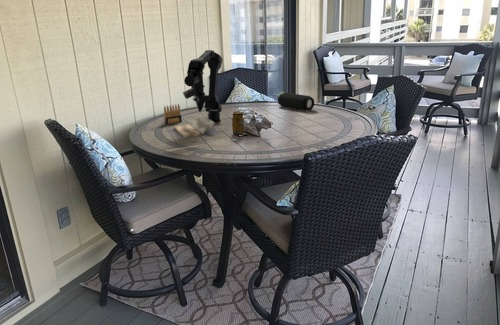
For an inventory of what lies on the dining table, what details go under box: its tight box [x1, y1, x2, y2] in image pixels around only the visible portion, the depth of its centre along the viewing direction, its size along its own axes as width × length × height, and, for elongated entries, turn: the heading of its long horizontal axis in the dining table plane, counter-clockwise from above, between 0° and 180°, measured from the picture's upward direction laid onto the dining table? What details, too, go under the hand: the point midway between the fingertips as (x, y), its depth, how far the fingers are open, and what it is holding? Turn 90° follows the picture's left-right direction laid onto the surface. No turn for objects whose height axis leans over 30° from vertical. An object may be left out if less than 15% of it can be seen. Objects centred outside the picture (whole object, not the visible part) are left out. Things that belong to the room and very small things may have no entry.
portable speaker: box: [277, 92, 315, 112], centre depth 274 cm, size 26×10×10 cm, turn 44°
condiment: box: [231, 111, 245, 137], centre depth 215 cm, size 7×8×12 cm
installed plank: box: [173, 124, 201, 139], centre depth 221 cm, size 9×20×2 cm, turn 26°
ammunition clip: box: [163, 103, 183, 125], centre depth 241 cm, size 11×2×12 cm, turn 125°
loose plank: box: [188, 114, 216, 134], centre depth 224 cm, size 9×20×2 cm, turn 25°
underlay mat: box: [167, 126, 221, 140], centre depth 223 cm, size 23×22×1 cm
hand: (200, 111), depth 227 cm, fingers closed
